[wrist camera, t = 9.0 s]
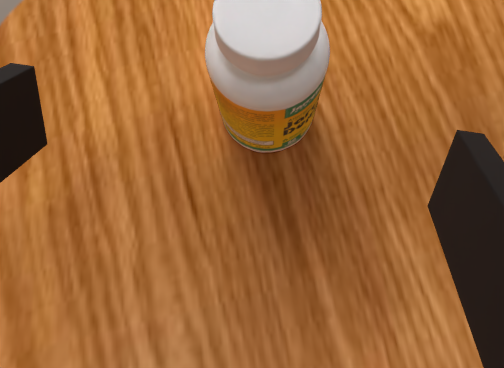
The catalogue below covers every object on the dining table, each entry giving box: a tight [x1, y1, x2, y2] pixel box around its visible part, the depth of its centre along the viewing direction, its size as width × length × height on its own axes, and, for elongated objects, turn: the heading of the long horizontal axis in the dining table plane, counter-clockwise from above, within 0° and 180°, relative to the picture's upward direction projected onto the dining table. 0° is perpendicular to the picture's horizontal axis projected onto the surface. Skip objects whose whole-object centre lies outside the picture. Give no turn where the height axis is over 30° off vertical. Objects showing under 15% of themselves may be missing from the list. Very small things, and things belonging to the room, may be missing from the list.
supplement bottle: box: [205, 0, 330, 152], centre depth 20 cm, size 5×5×10 cm
